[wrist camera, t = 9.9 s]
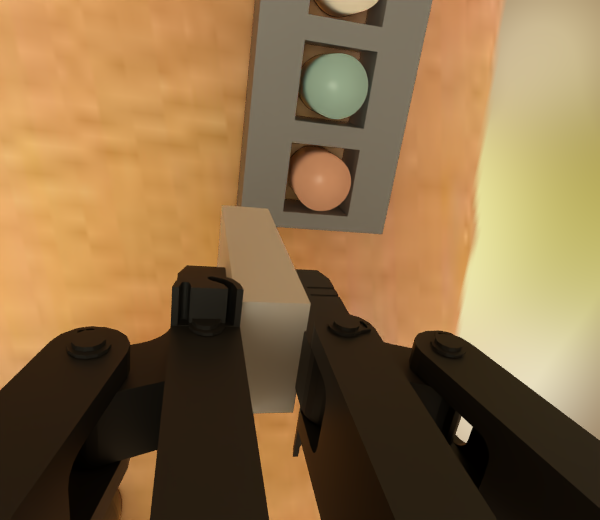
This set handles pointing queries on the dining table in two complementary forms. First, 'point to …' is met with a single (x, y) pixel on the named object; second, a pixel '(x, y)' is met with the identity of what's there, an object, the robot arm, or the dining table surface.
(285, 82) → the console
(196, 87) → the dining table surface
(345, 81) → the button teal
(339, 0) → the button ivory
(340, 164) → the button terracotta
